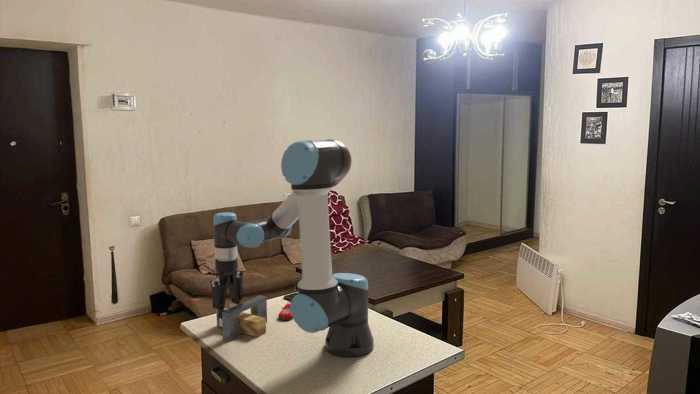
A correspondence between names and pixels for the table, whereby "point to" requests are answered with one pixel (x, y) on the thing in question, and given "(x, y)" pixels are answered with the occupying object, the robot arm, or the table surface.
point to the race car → (286, 313)
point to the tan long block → (250, 324)
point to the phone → (290, 296)
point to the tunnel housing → (233, 316)
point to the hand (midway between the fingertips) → (228, 323)
